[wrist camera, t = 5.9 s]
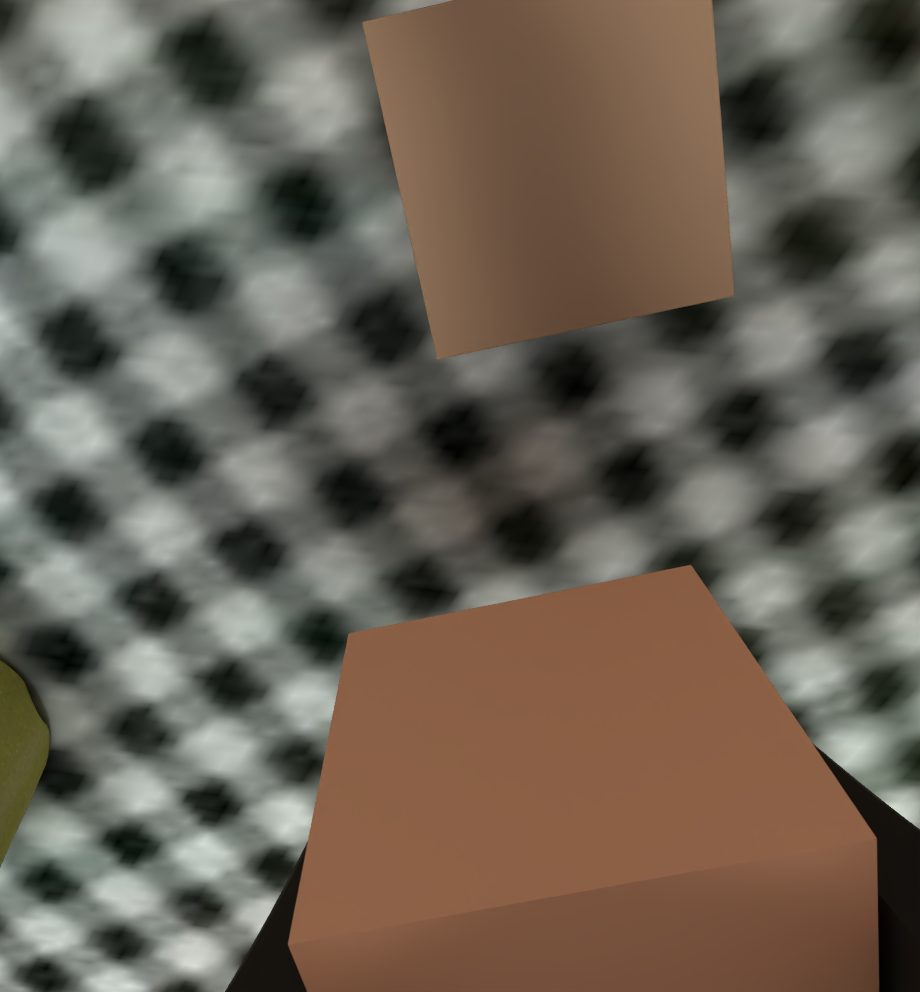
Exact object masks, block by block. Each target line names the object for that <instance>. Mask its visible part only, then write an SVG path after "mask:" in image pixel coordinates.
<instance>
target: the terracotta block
mask: <svg viewBox="0 0 920 992" xmlns="http://www.w3.org/2000/svg"><path fill="white" fill-rule="evenodd" d="M288 946H289V949H290V951H291V954H292V956H293V958H294V961H295V963H296V966H297V968H298V971H299V973H300V975H301V978H302V980H303V983H304V985H305V988H306V990H307V992H879V947H878V884H877V838H876V836H875V835H874V833H873V832H872V831H871V829H870V828H869V826H868V825H867V823H866V822H865V820H864V819H863V817H862V816H861V814H860V813H859V811H858V810H857V808H856V807H855V806H854V804H853V803H852V801H851V800H850V798H849V797H848V795H847V794H846V792H845V791H844V789H843V788H842V786H841V785H840V783H839V782H838V780H837V779H836V778H835V776H834V775H833V773H832V772H831V770H830V769H829V767H828V766H827V764H826V763H825V761H824V760H823V758H822V757H821V755H820V754H819V753H818V751H817V750H816V748H815V747H814V745H813V744H812V742H811V741H810V739H809V738H808V736H807V735H806V733H805V732H804V730H803V729H802V728H801V726H800V725H799V723H798V722H797V720H796V719H795V717H794V716H793V714H792V713H791V711H790V710H789V708H788V707H787V705H786V704H785V703H784V701H783V700H782V698H781V697H780V695H779V694H778V692H777V691H776V689H775V688H774V686H773V685H772V683H771V682H770V680H769V679H768V677H767V676H766V675H765V673H764V672H763V670H762V669H761V667H760V666H759V664H758V663H757V661H756V660H755V658H754V657H753V655H752V654H751V652H750V651H749V650H748V648H747V647H746V645H745V644H744V642H743V641H742V639H741V638H740V636H739V635H738V633H737V632H736V630H735V629H734V627H733V626H732V625H731V623H730V622H729V620H728V619H727V617H726V616H725V614H724V613H723V611H722V610H721V608H720V607H719V605H718V604H717V602H716V601H715V599H714V598H713V597H712V595H711V594H710V592H709V591H708V589H707V588H706V586H705V585H704V583H703V582H702V580H701V579H700V577H699V576H698V574H697V573H696V572H695V570H694V569H693V567H692V566H691V565H688V566H683V567H678V568H673V569H668V570H663V571H658V572H653V573H648V574H643V575H638V576H633V577H628V578H623V579H618V580H613V581H608V582H603V583H598V584H593V585H588V586H583V587H578V588H573V589H568V590H563V591H558V592H553V593H548V594H543V595H538V596H533V597H528V598H523V599H518V600H513V601H508V602H503V603H498V604H493V605H488V606H483V607H478V608H473V609H468V610H463V611H458V612H453V613H448V614H443V615H438V616H433V617H428V618H423V619H418V620H413V621H408V622H403V623H398V624H393V625H388V626H383V627H378V628H373V629H368V630H363V631H358V632H353V633H349V634H348V639H347V645H346V650H345V655H344V660H343V665H342V670H341V675H340V680H339V685H338V691H337V696H336V701H335V706H334V711H333V716H332V721H331V726H330V731H329V737H328V742H327V747H326V752H325V757H324V762H323V767H322V772H321V777H320V783H319V788H318V793H317V798H316V803H315V808H314V813H313V818H312V823H311V829H310V834H309V839H308V844H307V849H306V854H305V859H304V864H303V869H302V875H301V880H300V885H299V890H298V895H297V900H296V905H295V910H294V915H293V921H292V926H291V931H290V936H289V941H288Z"/></svg>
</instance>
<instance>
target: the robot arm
mask: <svg viewBox="0 0 920 992" xmlns="http://www.w3.org/2000/svg"><path fill="white" fill-rule="evenodd" d="M812 744H813V743H812ZM813 745H814V744H813ZM814 747H815V748H816V750H817V751H818V753H819V754H820V755H821V757H822V758H823V760H824V761H825V763H826V764H827V766H828V767H829V769H830V770H831V772H832V773H833V775H834V776H835V778H836V779H837V780H838V782H839V783H840V785H841V786H842V788H843V789H844V791H845V792H846V794H847V795H848V797H849V798H850V800H851V801H852V803H853V804H854V806H855V807H856V808H857V810H858V811H859V813H860V814H861V816H862V817H863V819H864V820H865V822H866V823H867V825H868V826H869V828H870V829H871V831H872V832H873V833H874V835H875V836H876V838H877V884H878V947H879V992H920V829H918V828H917V827H916V826H914V825H913V824H912V823H910V822H909V821H908V820H906V819H905V818H904V817H903V816H901V815H900V814H899V813H897V812H896V811H895V810H894V809H892V808H891V807H890V806H888V805H887V804H886V803H885V802H883V801H882V800H881V799H880V798H878V797H877V796H876V795H875V794H873V793H872V792H871V791H870V790H868V789H867V788H866V787H865V786H863V785H862V784H861V783H860V782H858V781H857V780H856V779H855V778H854V777H852V776H851V775H850V774H849V773H847V772H846V771H845V770H844V769H843V768H841V767H840V766H839V765H838V764H837V763H835V762H834V761H833V760H832V759H831V758H829V757H828V756H827V755H826V754H825V753H823V752H822V751H821V750H820V749H819V748H817V747H816V746H815V745H814ZM307 844H308V842H307ZM307 844H306V846H305V848H304V850H303V852H302V854H301V856H300V858H299V860H298V862H297V864H296V866H295V867H294V869H293V871H292V873H291V875H290V877H289V879H288V881H287V883H286V885H285V887H284V888H283V890H282V892H281V894H280V896H279V898H278V900H277V901H276V903H275V905H274V907H273V909H272V911H271V913H270V914H269V916H268V918H267V920H266V922H265V923H264V925H263V927H262V929H261V930H260V932H259V934H258V936H257V937H256V939H255V941H254V943H253V945H252V946H251V948H250V950H249V952H248V953H247V955H246V957H245V959H244V960H243V962H242V964H241V966H240V967H239V969H238V971H237V973H236V974H235V976H234V978H233V979H232V981H231V983H230V984H229V986H228V988H227V989H226V991H225V992H307V990H306V988H305V985H304V983H303V980H302V978H301V975H300V973H299V971H298V968H297V966H296V963H295V961H294V958H293V956H292V954H291V951H290V949H289V946H288V941H289V936H290V931H291V926H292V921H293V915H294V910H295V905H296V900H297V895H298V890H299V885H300V880H301V875H302V869H303V864H304V859H305V854H306V849H307Z"/></svg>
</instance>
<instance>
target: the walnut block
mask: <svg viewBox="0 0 920 992" xmlns="http://www.w3.org/2000/svg"><path fill="white" fill-rule="evenodd" d="M362 23H363V27H364V32H365V36H366V41H367V45H368V50H369V54H370V59H371V63H372V68H373V72H374V77H375V81H376V86H377V91H378V95H379V100H380V104H381V109H382V113H383V118H384V122H385V127H386V131H387V136H388V140H389V145H390V149H391V154H392V158H393V163H394V167H395V172H396V176H397V181H398V185H399V190H400V194H401V199H402V203H403V208H404V212H405V217H406V221H407V226H408V230H409V235H410V239H411V244H412V248H413V253H414V257H415V262H416V266H417V271H418V275H419V280H420V284H421V289H422V293H423V298H424V303H425V307H426V312H427V316H428V321H429V325H430V330H431V334H432V339H433V343H434V348H435V352H436V357H437V360H438V359H442V358H447V357H452V356H456V355H461V354H466V353H470V352H475V351H480V350H484V349H489V348H494V347H498V346H503V345H508V344H512V343H517V342H522V341H526V340H531V339H536V338H540V337H545V336H550V335H554V334H559V333H564V332H568V331H573V330H578V329H582V328H587V327H592V326H596V325H601V324H606V323H610V322H615V321H620V320H624V319H629V318H634V317H638V316H643V315H648V314H652V313H657V312H662V311H666V310H671V309H676V308H680V307H685V306H690V305H694V304H699V303H704V302H708V301H713V300H718V299H722V298H727V297H732V296H734V283H733V270H732V257H731V243H730V230H729V217H728V204H727V191H726V178H725V165H724V151H723V138H722V125H721V112H720V99H719V86H718V73H717V59H716V46H715V33H714V20H713V7H712V0H453V1H449V2H445V3H441V4H437V5H432V6H428V7H424V8H420V9H416V10H411V11H407V12H403V13H399V14H394V15H390V16H386V17H382V18H378V19H373V20H369V21H365V22H362Z"/></svg>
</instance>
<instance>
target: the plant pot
mask: <svg viewBox="0 0 920 992" xmlns="http://www.w3.org/2000/svg"><path fill="white" fill-rule="evenodd" d="M49 743H50V735H49V729H48V726H47V725H46V724H45V723H44V722H43V721H42V719H41V718H40V716H39V714H38V712H37V710H36V708H35V706H34V704H33V702H32V700H31V698H30V695H29V693H28V690H27V687H26V685H25V683H24V681H23V680H22V678H21V677H20V676H19V675H18V674H17V673H16V672H15V671H13V670H12V669H11V668H10V667H9V666H8V665H6V664H5V663H4V662H2V661H1V660H0V867H1V864H2V862H3V860H4V857H5V855H6V853H7V850H8V848H9V846H10V844H11V841H12V839H13V837H14V835H15V833H16V831H17V829H18V827H19V824H20V822H21V820H22V818H23V816H24V814H25V811H26V809H27V807H28V805H29V803H30V800H31V798H32V796H33V794H34V791H35V789H36V786H37V784H38V782H39V779H40V777H41V775H42V772H43V770H44V768H45V765H46V762H47V758H48V753H49Z"/></svg>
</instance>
